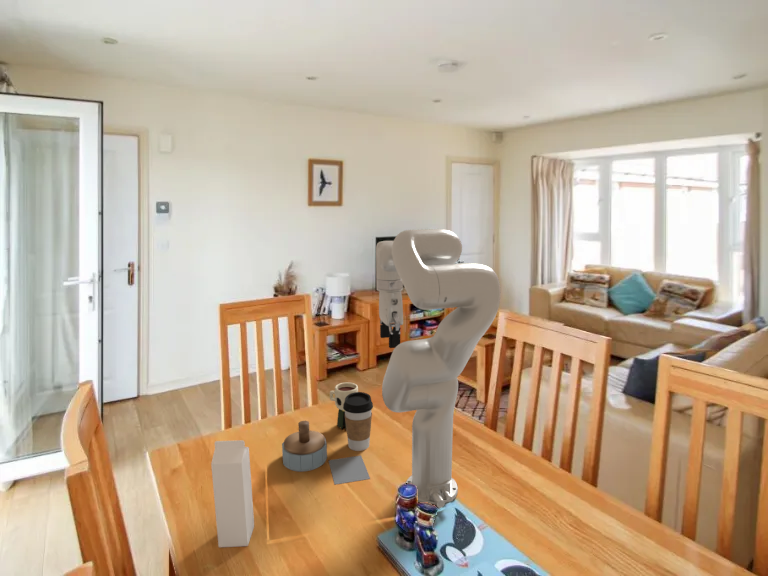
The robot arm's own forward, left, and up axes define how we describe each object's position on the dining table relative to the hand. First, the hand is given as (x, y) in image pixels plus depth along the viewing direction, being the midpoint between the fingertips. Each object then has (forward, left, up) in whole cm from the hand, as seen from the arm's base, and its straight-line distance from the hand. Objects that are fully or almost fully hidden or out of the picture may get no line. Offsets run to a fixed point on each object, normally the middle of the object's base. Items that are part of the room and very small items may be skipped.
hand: (389, 342), depth 135 cm
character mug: (+7, +12, -28) cm, 32 cm away
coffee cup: (-6, +11, -28) cm, 31 cm away
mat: (-17, +16, -28) cm, 37 cm away
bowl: (-9, +27, -28) cm, 40 cm away
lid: (-9, +26, -23) cm, 36 cm away
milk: (-34, +43, -28) cm, 62 cm away
